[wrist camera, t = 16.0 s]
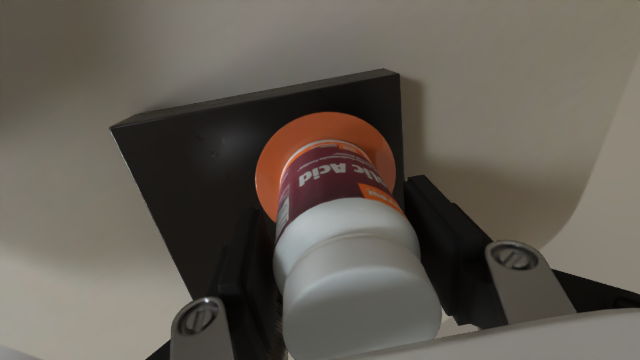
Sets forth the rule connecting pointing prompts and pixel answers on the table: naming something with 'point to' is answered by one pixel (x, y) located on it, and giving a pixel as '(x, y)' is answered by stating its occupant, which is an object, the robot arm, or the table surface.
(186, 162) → the hob
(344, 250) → the pill bottle
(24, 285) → the table surface
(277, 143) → the burner ring
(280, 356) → the hob knob
